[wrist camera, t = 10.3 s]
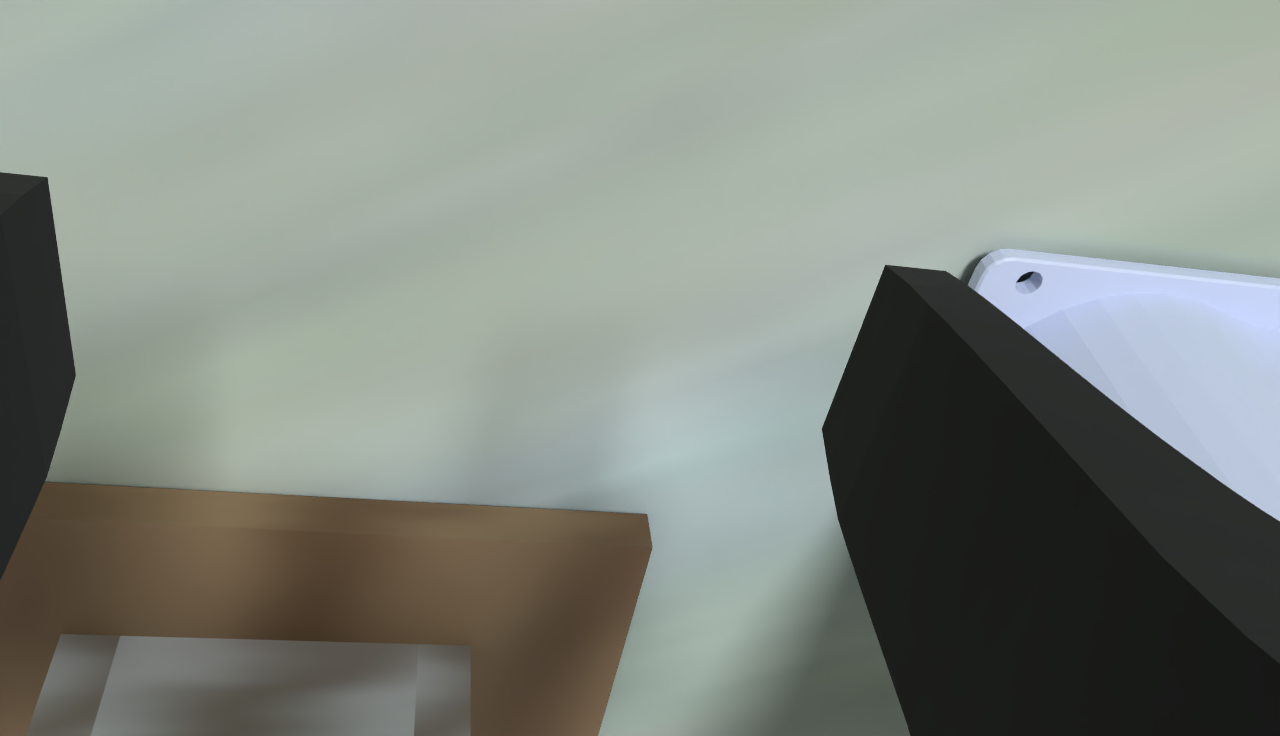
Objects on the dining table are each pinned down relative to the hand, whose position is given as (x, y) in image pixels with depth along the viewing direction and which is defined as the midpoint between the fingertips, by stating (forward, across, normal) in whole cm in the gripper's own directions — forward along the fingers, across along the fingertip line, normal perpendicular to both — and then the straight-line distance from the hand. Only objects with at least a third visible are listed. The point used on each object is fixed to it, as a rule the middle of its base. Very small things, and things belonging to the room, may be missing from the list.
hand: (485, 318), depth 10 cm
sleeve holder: (+9, +3, +20) cm, 22 cm away
